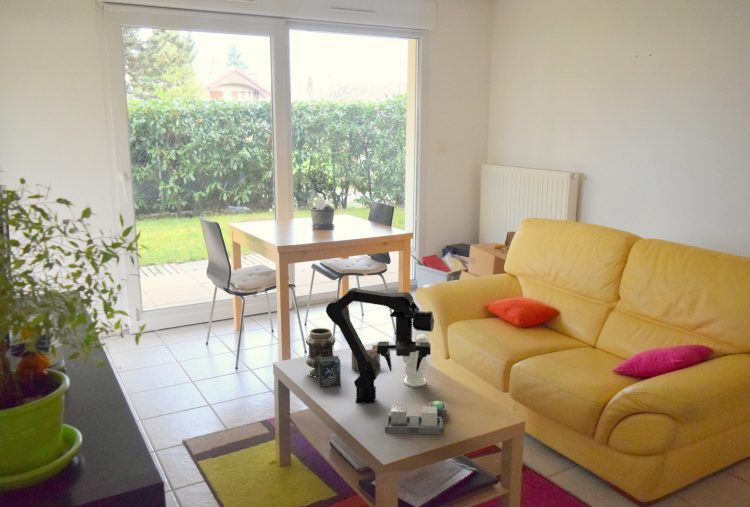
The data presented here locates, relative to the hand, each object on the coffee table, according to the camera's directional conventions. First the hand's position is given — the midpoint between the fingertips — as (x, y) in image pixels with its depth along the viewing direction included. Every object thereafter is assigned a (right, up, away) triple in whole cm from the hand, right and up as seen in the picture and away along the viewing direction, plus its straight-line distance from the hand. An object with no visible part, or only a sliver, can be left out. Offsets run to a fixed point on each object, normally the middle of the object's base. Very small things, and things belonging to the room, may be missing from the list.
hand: (403, 371), depth 232 cm
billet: (-2, -15, -15) cm, 22 cm away
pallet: (+3, -16, -15) cm, 22 cm away
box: (-28, -9, +20) cm, 35 cm away
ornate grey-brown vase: (-32, -7, +32) cm, 45 cm away
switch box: (+11, -14, -7) cm, 19 cm away
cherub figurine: (+3, -9, +21) cm, 23 cm away
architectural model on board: (-14, -6, +37) cm, 40 cm away
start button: (+11, -14, -7) cm, 19 cm away
